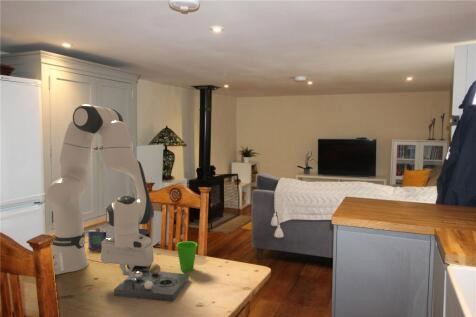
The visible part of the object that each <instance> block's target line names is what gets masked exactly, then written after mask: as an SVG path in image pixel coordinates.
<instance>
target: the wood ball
mask: <svg viewBox="0 0 476 317" xmlns="http://www.w3.org/2000/svg"><path fill="white" fill-rule="evenodd" d="M149 271H150V272H151V273H152V274H158V273H159V272H161V266H160V265H159V264H158V263H152V264H151V265H150V266H149Z"/></svg>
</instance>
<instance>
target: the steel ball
mask: <svg viewBox="0 0 476 317" xmlns="http://www.w3.org/2000/svg"><path fill="white" fill-rule="evenodd" d="M142 277H143V274H142V272H140V271H137V272H136V273H135V274H134V278H135V279H136V280H140V279H142Z"/></svg>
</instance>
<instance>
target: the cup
mask: <svg viewBox="0 0 476 317" xmlns="http://www.w3.org/2000/svg"><path fill="white" fill-rule="evenodd" d="M175 246H176V248H177V253H178V262H179V266H180V268H179V269H180V271H181V270H182V271H181V272H184V273H189V272H192V271H193V270H194V267H195V266H194V265H195V260H196V259H195V258H196V253H197V248H198V246H199V244H198V243H197V242H195V241H190V240H189V241H188V240H186V241H180V242H177V244H176V245H175Z"/></svg>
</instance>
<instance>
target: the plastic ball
mask: <svg viewBox="0 0 476 317" xmlns="http://www.w3.org/2000/svg"><path fill="white" fill-rule="evenodd" d="M152 286H153V283H152V282H151V281H146V282H145V284H144V287H145V288H146V289H151V288H152Z"/></svg>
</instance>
